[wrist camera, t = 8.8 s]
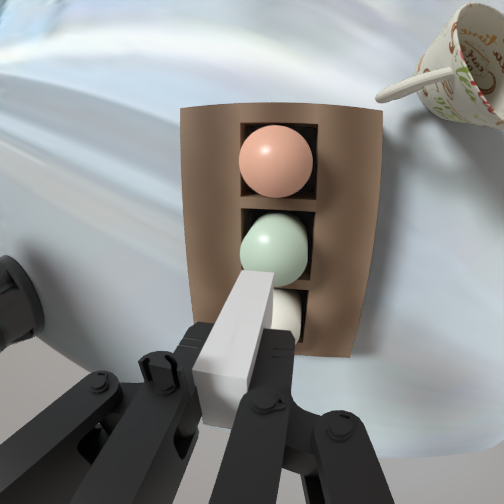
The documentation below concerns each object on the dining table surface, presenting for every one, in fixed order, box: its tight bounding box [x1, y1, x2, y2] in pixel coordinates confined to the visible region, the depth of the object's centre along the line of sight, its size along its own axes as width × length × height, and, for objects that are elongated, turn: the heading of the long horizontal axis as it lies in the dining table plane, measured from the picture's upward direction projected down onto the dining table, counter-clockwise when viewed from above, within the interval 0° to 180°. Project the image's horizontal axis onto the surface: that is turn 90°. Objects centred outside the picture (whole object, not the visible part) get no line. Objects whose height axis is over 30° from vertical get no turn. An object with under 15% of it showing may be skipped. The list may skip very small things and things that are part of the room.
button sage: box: [240, 210, 308, 287], centre depth 20 cm, size 4×4×4 cm
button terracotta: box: [239, 125, 313, 198], centre depth 18 cm, size 4×4×4 cm
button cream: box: [271, 288, 302, 344], centre depth 22 cm, size 4×4×4 cm
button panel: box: [180, 102, 383, 358], centre depth 22 cm, size 14×20×4 cm
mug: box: [375, 3, 504, 130], centre depth 12 cm, size 8×13×10 cm, turn 116°
